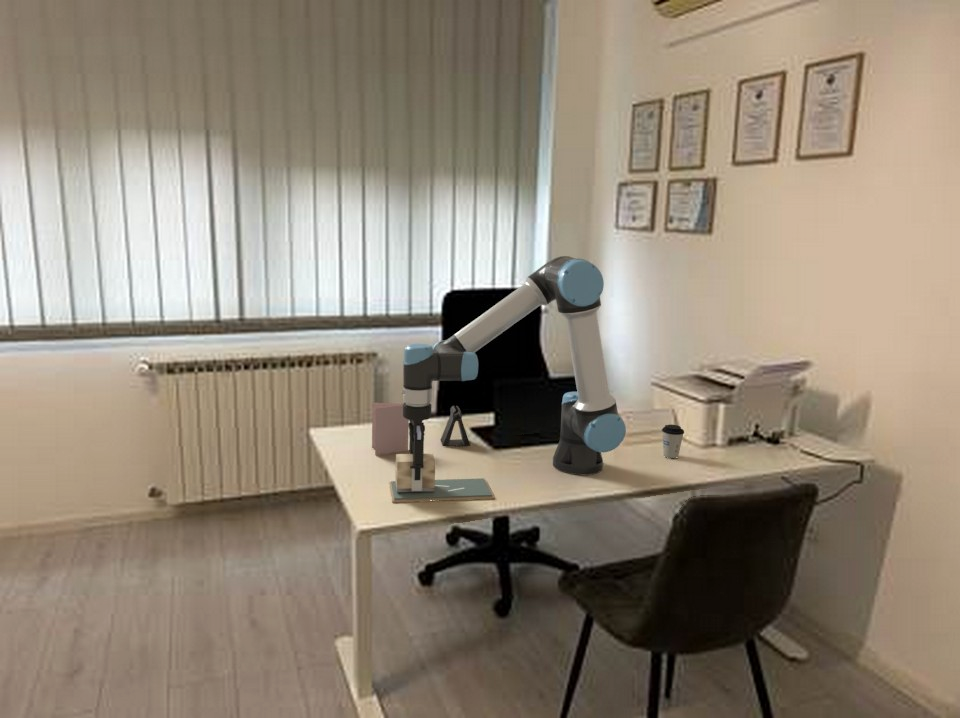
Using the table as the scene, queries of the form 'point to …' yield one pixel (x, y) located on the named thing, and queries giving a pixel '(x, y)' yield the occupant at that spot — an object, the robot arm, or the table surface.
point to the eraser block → (405, 473)
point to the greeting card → (389, 428)
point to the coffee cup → (672, 440)
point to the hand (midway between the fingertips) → (415, 485)
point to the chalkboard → (446, 491)
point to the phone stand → (449, 428)
